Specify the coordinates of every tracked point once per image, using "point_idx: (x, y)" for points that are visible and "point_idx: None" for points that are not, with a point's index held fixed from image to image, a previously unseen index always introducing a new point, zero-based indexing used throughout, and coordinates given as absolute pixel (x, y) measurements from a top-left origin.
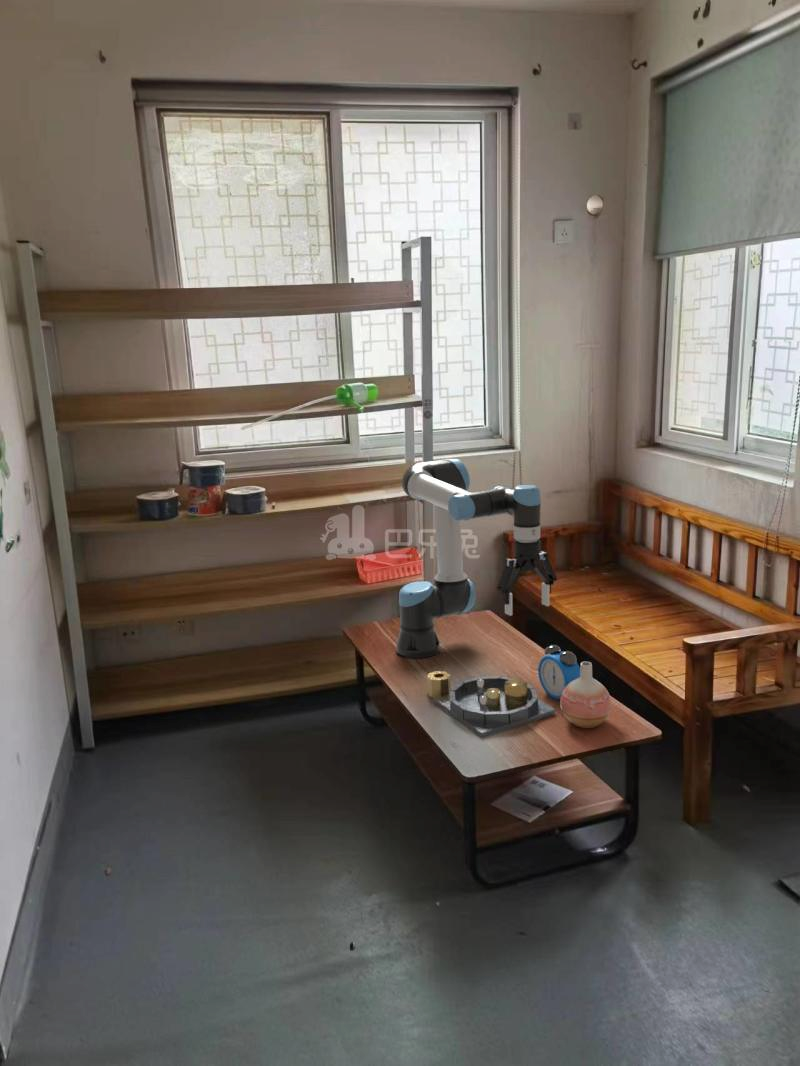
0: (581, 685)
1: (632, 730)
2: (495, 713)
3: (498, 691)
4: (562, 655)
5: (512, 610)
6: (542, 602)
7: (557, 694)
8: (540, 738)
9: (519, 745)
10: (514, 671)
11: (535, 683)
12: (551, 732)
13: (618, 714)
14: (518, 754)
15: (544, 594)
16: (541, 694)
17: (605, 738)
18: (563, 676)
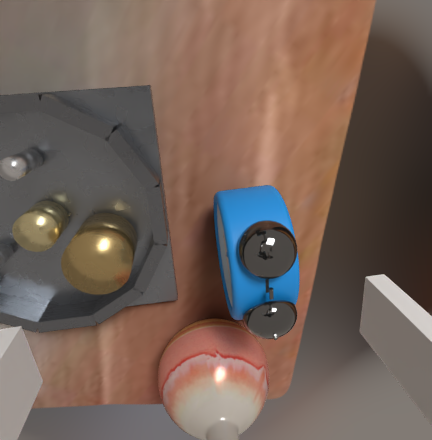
0: (196, 435)
1: None
2: (3, 321)
3: (49, 242)
4: (253, 326)
5: (27, 416)
6: (372, 294)
7: (221, 252)
8: (95, 357)
9: (43, 364)
10: (227, 18)
11: (231, 133)
12: (127, 346)
13: (284, 335)
14: None
15: (419, 369)
16: (206, 198)
17: None
18: (231, 304)
